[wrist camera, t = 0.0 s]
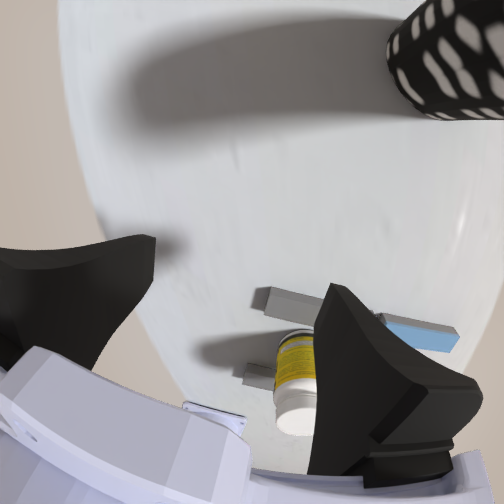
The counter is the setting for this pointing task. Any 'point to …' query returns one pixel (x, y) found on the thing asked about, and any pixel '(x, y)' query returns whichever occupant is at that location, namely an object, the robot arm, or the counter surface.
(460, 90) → the spotted tube
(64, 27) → the counter surface
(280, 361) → the supplement bottle
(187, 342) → the counter surface
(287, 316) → the grey and blue rails
